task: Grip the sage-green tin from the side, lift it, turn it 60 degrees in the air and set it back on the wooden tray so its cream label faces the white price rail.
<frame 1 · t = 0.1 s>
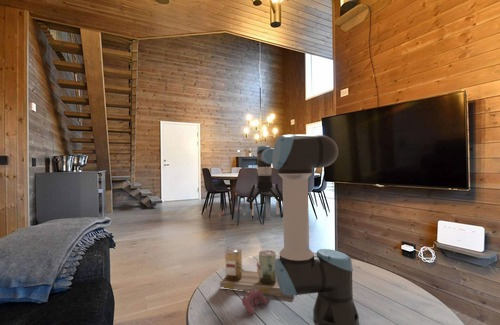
hand: (265, 214, 135), 28 cm above the table, tool pointing down, fingers open, 13 cm apart
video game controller: (254, 308, 96), on the table
mustard tin: (231, 281, 113), point 2 cm above the table, touching wooden tray
wooden tray: (259, 284, 115), on the table
green tin: (259, 281, 112), point 3 cm above the table, touching wooden tray
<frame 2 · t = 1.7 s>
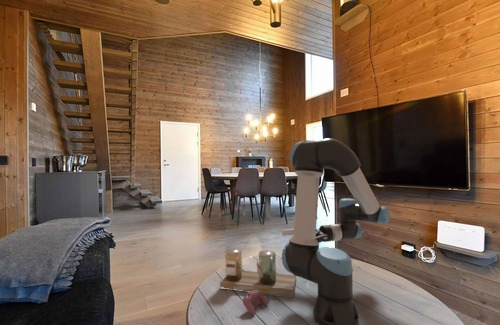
hand: (287, 236, 115), 21 cm above the table, tool horizontal, fingers open, 13 cm apart
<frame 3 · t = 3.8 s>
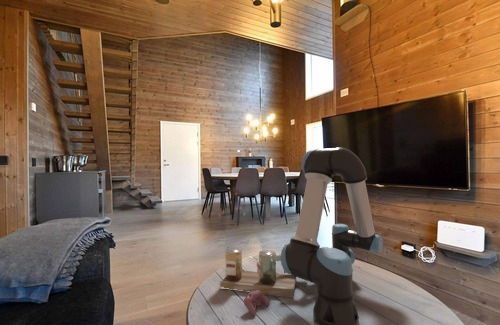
hand: (279, 263, 115), 9 cm above the table, tool horizontal, fingers open, 13 cm apart
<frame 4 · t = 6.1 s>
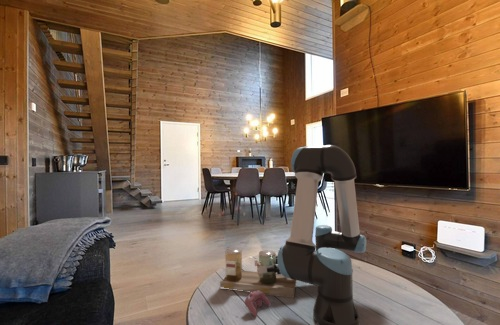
hand: (256, 266, 112), 9 cm above the table, tool horizontal, fingers closed on green tin, 7 cm apart
green tin: (259, 281, 112), point 2 cm above the table, touching gripper, wooden tray
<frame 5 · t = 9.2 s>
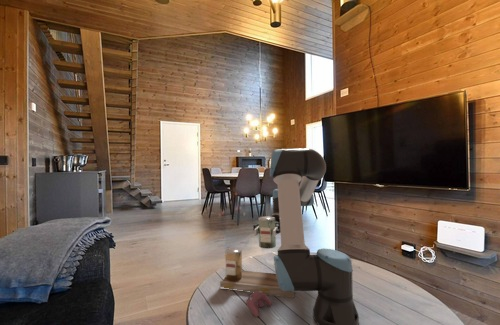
hand: (264, 233, 109), 25 cm above the table, tool horizontal, fingers closed on green tin, 7 cm apart
green tin: (265, 248, 110), point 18 cm above the table, touching gripper
when the fingers open (11 cm above the table, at t = 12.5 s): green tin drops 1 cm, resting on wooden tray.
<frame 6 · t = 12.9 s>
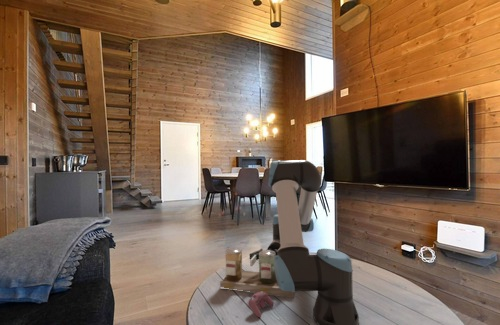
hand: (265, 264, 110), 11 cm above the table, tool horizontal, fingers open, 12 cm apart
green tin: (266, 284, 109), point 3 cm above the table, touching wooden tray
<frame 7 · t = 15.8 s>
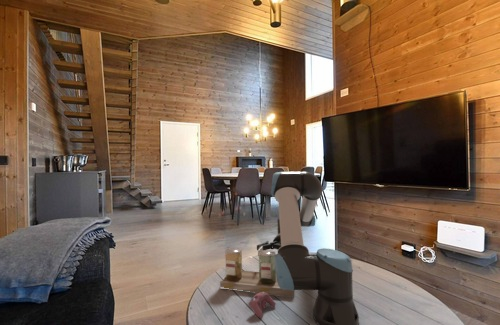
hand: (272, 254, 122), 11 cm above the table, tool horizontal, fingers open, 13 cm apart
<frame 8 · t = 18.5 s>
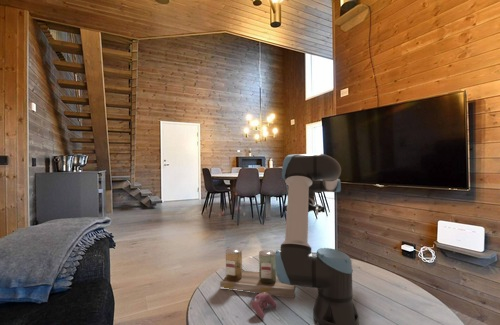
hand: (301, 211, 119), 32 cm above the table, tool horizontal, fingers open, 13 cm apart
at the end: green tin 0.1 cm from the target spot on the wooden tray, point 2.6 cm above the wooden tray's base; green tin tilted 1°; the gripper is holding nothing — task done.
